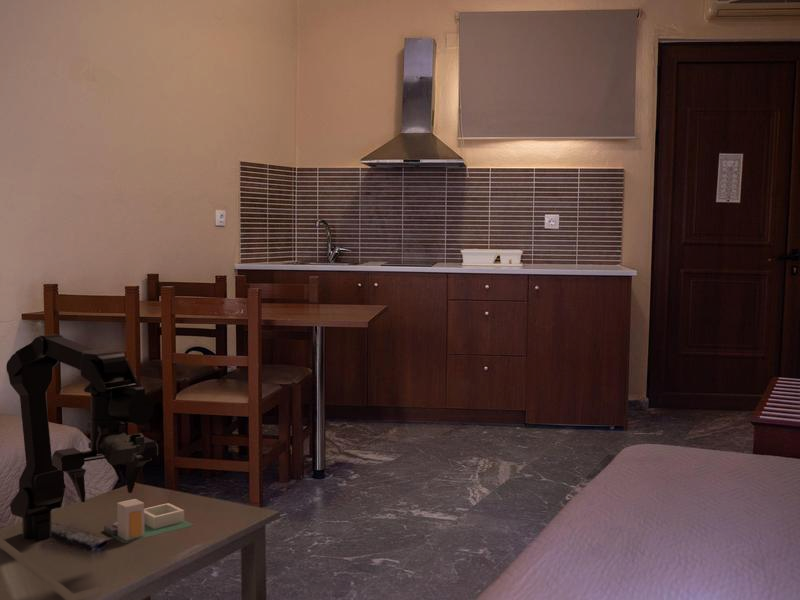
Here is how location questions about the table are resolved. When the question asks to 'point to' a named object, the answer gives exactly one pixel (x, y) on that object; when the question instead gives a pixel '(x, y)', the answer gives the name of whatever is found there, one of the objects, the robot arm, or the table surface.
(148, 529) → the header board
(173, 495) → the table surface
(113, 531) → the push button
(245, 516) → the table surface
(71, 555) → the table surface
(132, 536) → the plug
